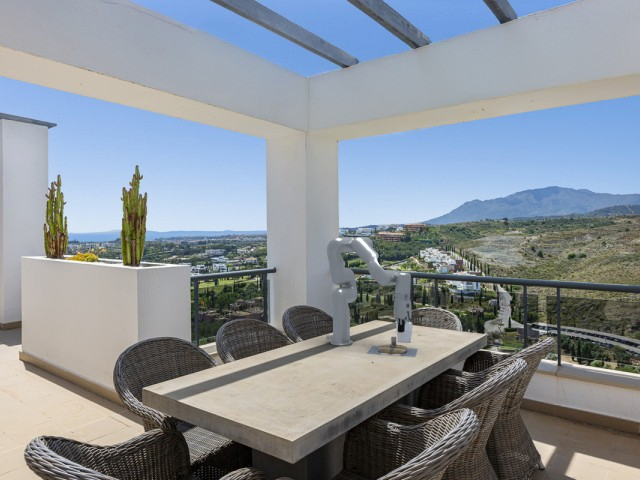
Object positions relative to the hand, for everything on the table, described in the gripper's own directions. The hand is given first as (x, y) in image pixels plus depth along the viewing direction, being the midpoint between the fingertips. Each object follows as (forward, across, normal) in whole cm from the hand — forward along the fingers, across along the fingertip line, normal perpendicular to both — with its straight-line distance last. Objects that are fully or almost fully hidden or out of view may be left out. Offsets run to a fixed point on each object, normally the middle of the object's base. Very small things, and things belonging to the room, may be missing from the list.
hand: (401, 331), depth 222 cm
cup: (+12, +16, -14) cm, 25 cm away
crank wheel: (+10, 0, +5) cm, 11 cm away
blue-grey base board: (+11, 0, +5) cm, 12 cm away
